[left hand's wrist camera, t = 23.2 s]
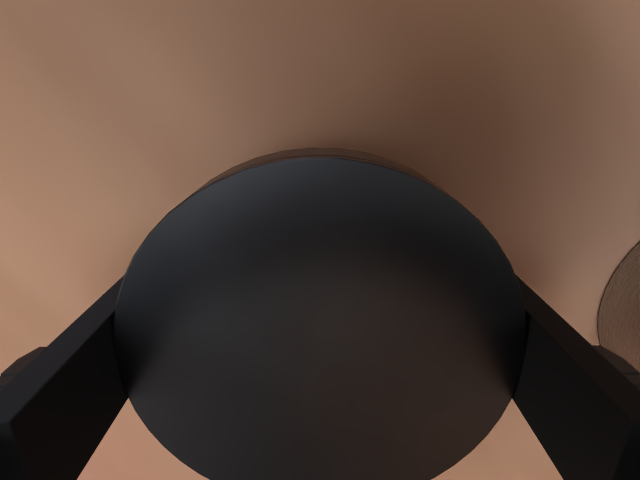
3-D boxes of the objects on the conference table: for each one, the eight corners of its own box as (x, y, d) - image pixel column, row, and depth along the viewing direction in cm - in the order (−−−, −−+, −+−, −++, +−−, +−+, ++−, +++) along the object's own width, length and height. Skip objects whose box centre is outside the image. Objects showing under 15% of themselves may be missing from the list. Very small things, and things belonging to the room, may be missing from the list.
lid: (542, 166, 11) (584, 179, 9) (457, 468, 14) (475, 517, 13) (127, 129, 10) (89, 135, 9) (152, 448, 14) (129, 496, 12)
